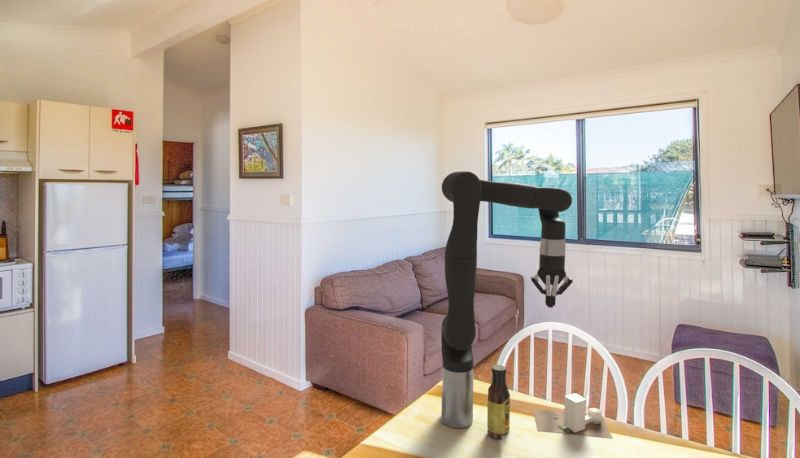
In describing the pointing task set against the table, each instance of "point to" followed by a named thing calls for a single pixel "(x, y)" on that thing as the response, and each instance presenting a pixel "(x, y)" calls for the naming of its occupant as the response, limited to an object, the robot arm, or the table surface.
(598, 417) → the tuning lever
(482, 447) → the table surface
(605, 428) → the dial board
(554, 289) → the robot arm
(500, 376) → the sauce bottle
